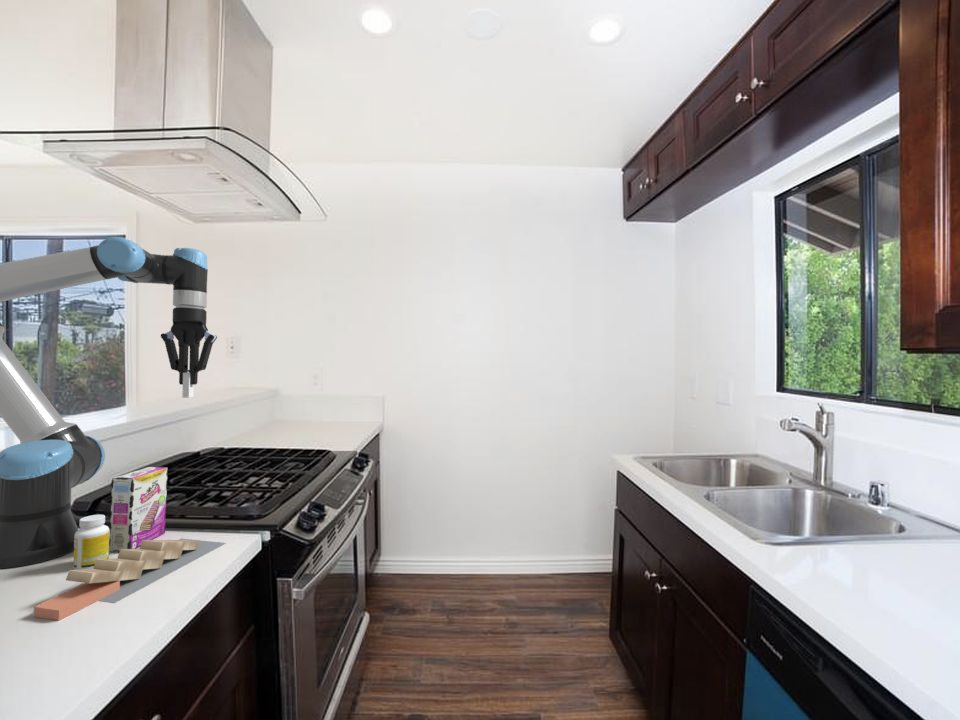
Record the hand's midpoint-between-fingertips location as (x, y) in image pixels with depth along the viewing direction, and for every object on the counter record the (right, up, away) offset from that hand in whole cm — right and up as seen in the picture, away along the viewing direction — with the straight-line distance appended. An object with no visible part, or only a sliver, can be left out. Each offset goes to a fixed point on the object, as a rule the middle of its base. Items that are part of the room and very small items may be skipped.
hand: (188, 397), depth 118 cm
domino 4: (+11, -32, -23) cm, 40 cm away
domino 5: (+12, -32, -18) cm, 39 cm away
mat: (+11, -33, -27) cm, 44 cm away
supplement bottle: (-2, -33, -27) cm, 42 cm away
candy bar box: (-1, -33, -15) cm, 36 cm away
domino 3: (+11, -31, -27) cm, 43 cm away
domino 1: (+9, -31, -36) cm, 49 cm away
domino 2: (+10, -31, -32) cm, 46 cm away
